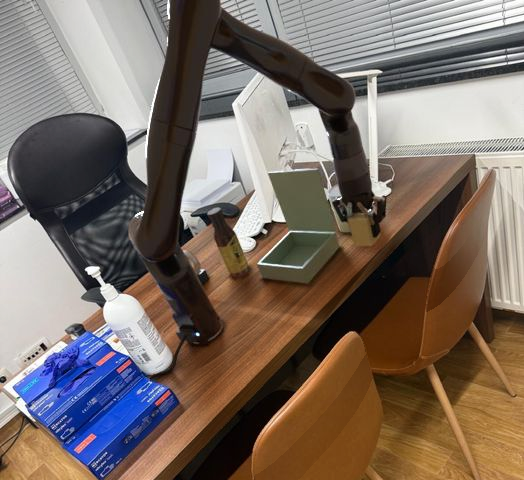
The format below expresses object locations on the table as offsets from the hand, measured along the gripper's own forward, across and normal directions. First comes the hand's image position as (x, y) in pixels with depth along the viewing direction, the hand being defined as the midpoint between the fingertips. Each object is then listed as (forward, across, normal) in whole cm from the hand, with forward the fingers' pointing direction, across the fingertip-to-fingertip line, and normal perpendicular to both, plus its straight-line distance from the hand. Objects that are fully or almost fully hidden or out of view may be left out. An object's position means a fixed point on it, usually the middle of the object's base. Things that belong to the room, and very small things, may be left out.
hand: (366, 235), depth 115 cm
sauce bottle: (+5, -35, -14) cm, 38 cm away
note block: (+2, 0, 0) cm, 2 cm away
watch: (+5, -47, -22) cm, 52 cm away
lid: (-10, -17, 0) cm, 19 cm away
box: (+5, -17, -8) cm, 19 cm away
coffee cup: (+5, -11, +11) cm, 17 cm away
